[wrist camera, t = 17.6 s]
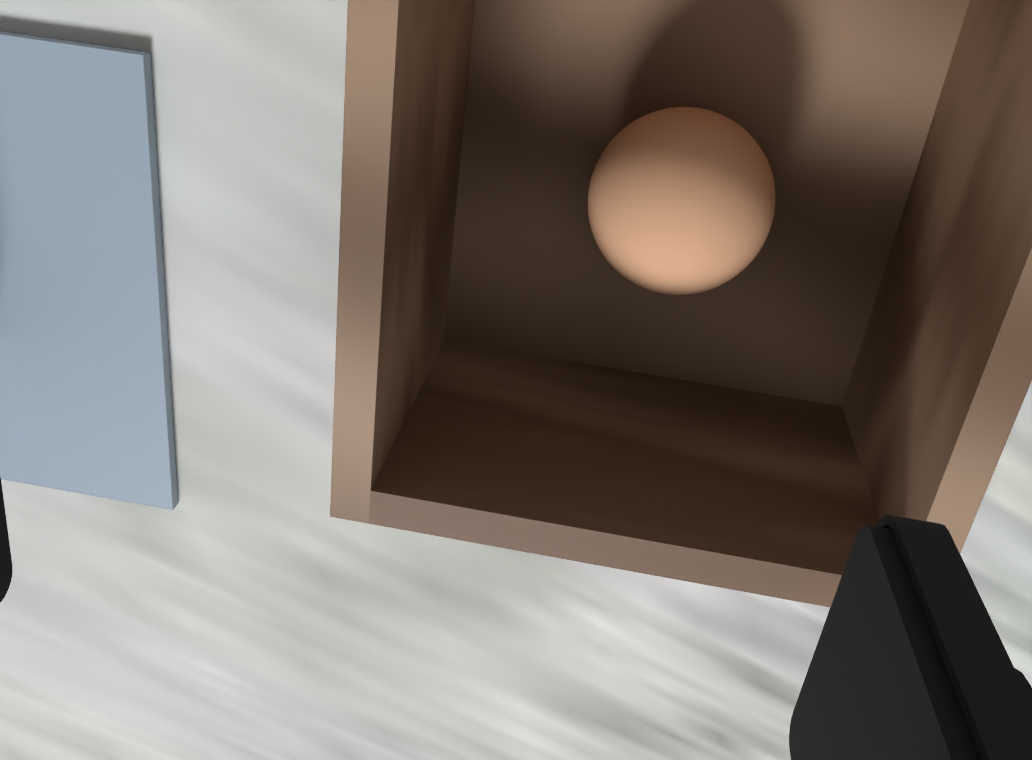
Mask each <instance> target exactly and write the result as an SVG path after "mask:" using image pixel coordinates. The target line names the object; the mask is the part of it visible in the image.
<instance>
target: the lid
mask: <svg viewBox="0 0 1032 760" xmlns="http://www.w3.org/2000/svg"><path fill="white" fill-rule="evenodd" d="M0 477H1V479H3V480H8V481H14V482H19V483H25V484H31V485H36V486H42V487H47V488H53V489H58V490H64V491H69V492H75V493H81V494H86V495H92V496H97V497H103V498H108V499H114V500H119V501H125V502H131V503H136V504H142V505H147V506H153V507H158V508H164V509H170V510H173V509H174V508H175V507H176V505H177V504H178V490H177V473H176V457H175V441H174V424H173V408H172V391H171V375H170V359H169V342H168V326H167V309H166V293H165V277H164V260H163V244H162V227H161V211H160V195H159V178H158V162H157V145H156V129H155V113H154V96H153V80H152V63H151V53H150V52H143V51H136V50H129V49H122V48H115V47H108V46H101V45H94V44H87V43H80V42H73V41H67V40H60V39H53V38H46V37H39V36H32V35H25V34H18V33H11V32H4V31H0Z"/></svg>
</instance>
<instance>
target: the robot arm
mask: <svg viewBox="0 0 1032 760" xmlns="http://www.w3.org/2000/svg"><path fill="white" fill-rule="evenodd" d="M11 578H12V561H11V553H10V546H9V538H8V530H7V523H6V515H5V508H4V500H3V492H2V485H1V477H0V602H1V601H2V600H3V598H4V597H5V595H6V593H7V591H8V588H9V585H10V582H11ZM789 746H790V755H791V760H1032V687H1031V685H1030V684H1029V682H1028V681H1027V679H1026V678H1025V676H1024V675H1023V674H1022V672H1020V671H1018V670H1017V669H1015V668H1014V667H1013V665H1012V663H1011V660H1010V658H1009V656H1008V654H1007V652H1006V650H1005V648H1004V646H1003V644H1002V642H1001V639H1000V637H999V635H998V633H997V631H996V629H995V627H994V625H993V623H992V620H991V618H990V616H989V614H988V612H987V610H986V608H985V606H984V604H983V602H982V599H981V597H980V595H979V593H978V591H977V589H976V587H975V585H974V583H973V580H972V578H971V576H970V574H969V572H968V570H967V568H966V566H965V564H964V562H963V559H962V557H961V555H960V553H959V551H958V549H957V547H956V545H955V543H954V540H953V538H952V536H951V534H950V532H949V530H948V529H947V528H946V526H945V525H943V524H940V523H934V522H929V521H923V520H917V519H911V518H906V517H900V516H894V515H889V514H887V515H885V516H883V517H882V518H881V520H880V521H879V522H878V524H877V526H870V525H863V526H862V527H861V528H860V529H859V531H858V533H857V535H856V537H855V540H854V543H853V546H852V549H851V551H850V554H849V557H848V560H847V563H846V565H845V568H844V571H843V574H842V577H841V579H840V582H839V585H838V588H837V591H836V594H835V596H834V599H833V602H832V605H831V608H830V610H829V613H828V616H827V619H826V622H825V624H824V627H823V630H822V633H821V636H820V638H819V641H818V644H817V647H816V650H815V652H814V655H813V658H812V661H811V664H810V666H809V669H808V672H807V675H806V678H805V680H804V683H803V686H802V689H801V692H800V694H799V697H798V700H797V703H796V706H795V708H794V711H793V715H792V719H791V724H790V734H789Z"/></svg>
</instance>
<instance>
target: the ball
mask: <svg viewBox="0 0 1032 760" xmlns="http://www.w3.org/2000/svg"><path fill="white" fill-rule="evenodd" d="M775 198H776V196H775V186H774V179H773V175H772V171H771V168H770V165H769V163H768V160H767V158H766V156H765V154H764V153H763V151H762V149H761V148H760V146H759V145H758V143H757V142H756V141H755V140H754V138H753V137H752V136H751V135H750V134H749V133H748V132H747V131H746V130H745V129H744V128H743V127H741V126H740V125H739V124H737V123H736V122H735V121H733V120H731V119H729V118H728V117H726V116H724V115H722V114H719V113H716V112H713V111H711V110H706V109H702V108H695V107H673V108H667V109H662V110H659V111H655V112H652V113H649V114H647V115H645V116H643V117H641V118H639V119H637V120H635V121H634V122H632V123H630V124H629V125H627V126H626V127H625V128H624V129H623V130H621V131H620V132H619V133H618V134H617V135H616V136H615V137H614V138H613V139H612V140H611V141H610V142H609V144H608V145H607V147H606V148H605V150H604V151H603V152H602V154H601V156H600V158H599V160H598V162H597V164H596V166H595V168H594V171H593V174H592V176H591V181H590V185H589V191H588V217H589V222H590V227H591V230H592V233H593V236H594V239H595V241H596V243H597V245H598V247H599V249H600V251H601V252H602V254H603V255H604V257H605V258H606V260H607V261H608V262H609V263H610V264H611V266H612V267H613V268H614V269H615V270H616V271H617V272H619V273H620V274H621V275H622V276H623V277H625V278H626V279H628V280H629V281H631V282H632V283H634V284H636V285H638V286H640V287H642V288H645V289H647V290H650V291H653V292H657V293H662V294H669V295H689V294H696V293H701V292H704V291H708V290H711V289H713V288H716V287H718V286H720V285H722V284H724V283H726V282H728V281H729V280H731V279H732V278H734V277H735V276H736V275H738V274H739V273H740V272H741V271H743V270H744V269H745V268H746V267H747V266H748V265H749V264H750V263H751V262H752V260H753V259H754V258H755V257H756V256H757V254H758V253H759V251H760V249H761V248H762V246H763V245H764V242H765V240H766V238H767V236H768V234H769V231H770V228H771V225H772V222H773V217H774V212H775Z"/></svg>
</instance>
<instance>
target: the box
mask: <svg viewBox="0 0 1032 760" xmlns="http://www.w3.org/2000/svg"><path fill="white" fill-rule="evenodd" d="M673 107H695V108H702V109H706V110H711V111H713V112H716V113H719V114H722V115H724V116H726V117H728V118H729V119H731V120H733V121H735V122H736V123H737V124H739V125H740V126H741V127H743V128H744V129H745V130H746V131H747V132H748V133H749V134H750V135H751V136H752V137H753V138H754V140H755V141H756V142H757V143H758V145H759V146H760V148H761V149H762V151H763V153H764V154H765V156H766V158H767V160H768V163H769V165H770V168H771V171H772V175H773V179H774V186H775V196H776V198H775V212H774V217H773V222H772V225H771V228H770V231H769V234H768V236H767V238H766V240H765V242H764V245H763V246H762V248H761V249H760V251H759V253H758V254H757V256H756V257H755V258H754V259H753V260H752V262H751V263H750V264H749V265H748V266H747V267H746V268H745V269H744V270H743V271H741V272H740V273H739V274H738V275H736V276H735V277H734V278H732V279H731V280H729V281H728V282H726V283H724V284H722V285H720V286H718V287H716V288H713V289H711V290H708V291H704V292H701V293H696V294H689V295H669V294H662V293H657V292H653V291H650V290H647V289H645V288H642V287H640V286H638V285H636V284H634V283H632V282H631V281H629V280H628V279H626V278H625V277H623V276H622V275H621V274H620V273H619V272H617V271H616V270H615V269H614V268H613V267H612V266H611V264H610V263H609V262H608V261H607V260H606V258H605V257H604V255H603V254H602V252H601V251H600V249H599V247H598V245H597V243H596V241H595V239H594V236H593V233H592V230H591V227H590V222H589V217H588V191H589V185H590V181H591V176H592V174H593V171H594V168H595V166H596V164H597V162H598V160H599V158H600V156H601V154H602V152H603V151H604V150H605V148H606V147H607V145H608V144H609V142H610V141H611V140H612V139H613V138H614V137H615V136H616V135H617V134H618V133H619V132H620V131H621V130H623V129H624V128H625V127H626V126H627V125H629V124H630V123H632V122H634V121H635V120H637V119H639V118H641V117H643V116H645V115H647V114H649V113H652V112H655V111H659V110H662V109H667V108H673ZM1031 381H1032V0H348V14H347V43H346V72H345V101H344V130H343V159H342V188H341V217H340V246H339V275H338V304H337V333H336V362H335V391H334V420H333V449H332V478H331V507H330V517H336V518H341V519H347V520H352V521H358V522H363V523H369V524H374V525H380V526H385V527H391V528H397V529H402V530H408V531H413V532H419V533H424V534H430V535H435V536H441V537H446V538H452V539H457V540H463V541H468V542H474V543H479V544H485V545H490V546H496V547H501V548H507V549H512V550H518V551H523V552H529V553H534V554H540V555H545V556H551V557H556V558H562V559H567V560H573V561H578V562H584V563H589V564H595V565H600V566H606V567H611V568H617V569H622V570H628V571H633V572H639V573H644V574H650V575H655V576H661V577H666V578H672V579H677V580H683V581H688V582H694V583H699V584H705V585H710V586H716V587H721V588H727V589H733V590H738V591H744V592H749V593H755V594H760V595H766V596H771V597H777V598H782V599H788V600H793V601H799V602H804V603H810V604H815V605H821V606H826V607H831V605H832V602H833V599H834V596H835V594H836V591H837V588H838V585H839V582H840V579H841V577H842V574H843V571H844V568H845V565H846V563H847V560H848V557H849V554H850V551H851V549H852V546H853V543H854V540H855V537H856V535H857V533H858V531H859V529H860V528H861V527H862V526H863V525H870V526H877V524H878V522H879V521H880V520H881V518H882V517H883V516H885V515H887V514H889V515H894V516H900V517H906V518H911V519H917V520H923V521H929V522H934V523H940V524H943V525H945V526H946V528H947V529H948V530H949V532H950V534H951V536H952V538H953V540H954V543H955V545H956V547H957V549H958V551H959V553H960V552H961V550H962V548H963V545H964V543H965V540H966V538H967V536H968V533H969V531H970V528H971V526H972V524H973V521H974V519H975V516H976V514H977V511H978V509H979V507H980V504H981V502H982V499H983V497H984V495H985V492H986V490H987V487H988V485H989V482H990V480H991V478H992V475H993V473H994V470H995V468H996V466H997V463H998V461H999V458H1000V456H1001V453H1002V451H1003V449H1004V446H1005V444H1006V441H1007V439H1008V437H1009V434H1010V432H1011V429H1012V427H1013V424H1014V422H1015V420H1016V417H1017V415H1018V412H1019V410H1020V408H1021V405H1022V403H1023V400H1024V398H1025V396H1026V393H1027V391H1028V388H1029V386H1030V383H1031Z"/></svg>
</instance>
